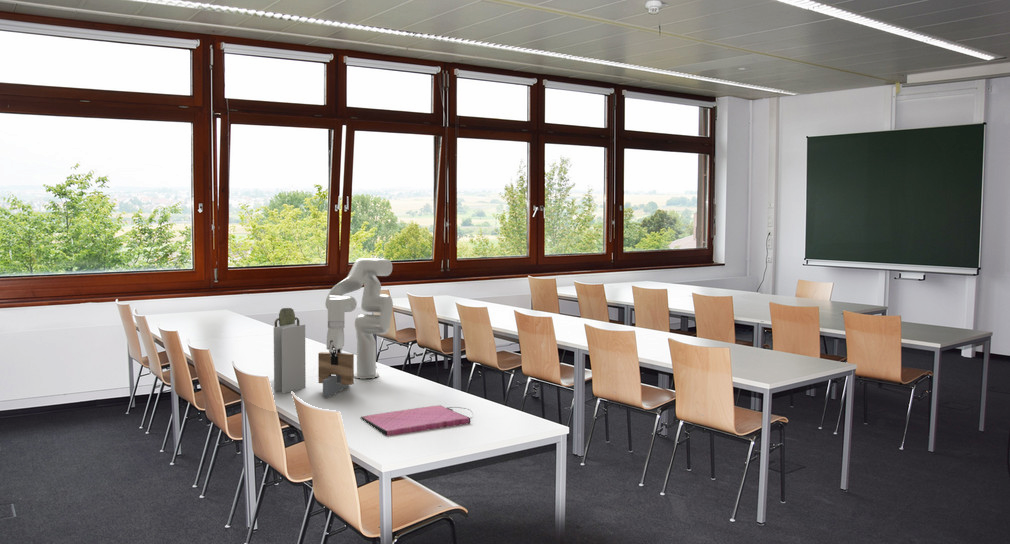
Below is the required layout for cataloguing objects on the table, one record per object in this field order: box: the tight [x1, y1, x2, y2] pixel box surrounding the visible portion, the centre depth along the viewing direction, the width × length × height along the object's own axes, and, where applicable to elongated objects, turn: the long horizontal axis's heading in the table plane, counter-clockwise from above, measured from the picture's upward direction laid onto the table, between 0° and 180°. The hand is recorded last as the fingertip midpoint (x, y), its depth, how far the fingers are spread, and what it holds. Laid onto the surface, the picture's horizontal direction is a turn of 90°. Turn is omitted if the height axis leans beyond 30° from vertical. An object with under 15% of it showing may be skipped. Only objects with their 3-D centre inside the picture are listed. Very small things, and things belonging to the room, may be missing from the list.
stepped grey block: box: [322, 375, 350, 399], centre depth 348 cm, size 24×2×8 cm, turn 169°
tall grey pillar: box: [273, 323, 307, 394], centre depth 349 cm, size 14×6×30 cm, turn 149°
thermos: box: [274, 307, 300, 327], centre depth 371 cm, size 9×12×35 cm
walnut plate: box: [317, 351, 355, 386], centre depth 347 cm, size 3×16×14 cm, turn 80°
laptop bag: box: [360, 404, 474, 437], centre depth 302 cm, size 40×4×27 cm
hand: (336, 363), depth 347 cm, fingers closed on walnut plate, 3 cm apart
